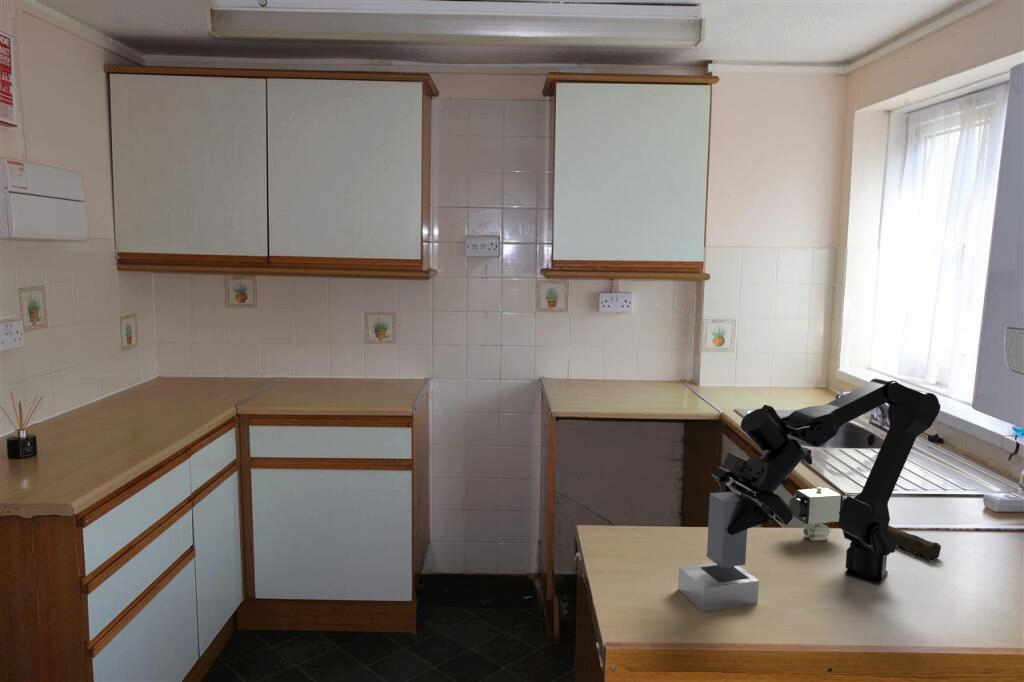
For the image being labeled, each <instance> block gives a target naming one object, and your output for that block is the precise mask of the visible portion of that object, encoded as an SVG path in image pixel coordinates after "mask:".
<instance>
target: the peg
mask: <svg viewBox="0 0 1024 682" xmlns="http://www.w3.org/2000/svg"><path fill="white" fill-rule="evenodd" d="M745 500H746V497H744V496H743V495H742V496H741V495H739V494H737V493H736V492H734V491H729V492H721V491H720V492H710V493H709V502H708V503H709V504H708V506H709V507H708V524H707V525H708V526H707V527H708V528H707V545H706V547H707V548H706V557H707V558H708V559H709V560H710V561H712V563H713V562H714V563H716V564H717V565H718V566H720V567H721V568H726V567H733V566H740V567H741V566H745V565H746V558H747V540H748V537H747V536H748V529H746V530H744V531H741V532H739V533H736V534H734V535H730V534H729V533H728V529H729V528H730V526H731V525H732V523H733V522H734V521H735V519H736V518H737V517H738V515H739V514H740V513H741V511H742V510H743V509H744V507H745Z"/></svg>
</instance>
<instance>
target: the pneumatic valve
mask: <svg viewBox="0 0 1024 682" xmlns="http://www.w3.org/2000/svg"><path fill="white" fill-rule="evenodd" d="M845 499H846V497H845V496H844V494H843V493H840V492H839V491H837V490H835V489H833V488H831V487H828V488H827V487H823V488H822V487H821V486H819V487H816V488H815V487H814V488H807V489H795V490H794V494H793V497H791V498H790V500H789V503H788V504H789V505H788V506H789V507H790V508H791V509H792V510H793V518H795V519H797V520H799V521H801V522H802V523H803V524H804V526H805V527H803V530H802V532H803V535H804V537H805V538H808V539H810V540H811V542H814V543H815V542H824V541H826V542H827V540H828V537H829V535H830V534H831V530H830V528H829V526H828V525H826V524H827V523H835V522H836V523H837V522H838V523H839V518H840V514H839V512H840V510H841V509H842V507H843V505H844V502H845Z"/></svg>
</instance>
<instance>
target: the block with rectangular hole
mask: <svg viewBox="0 0 1024 682" xmlns="http://www.w3.org/2000/svg"><path fill="white" fill-rule="evenodd" d="M677 580H678V585H677V590H678V589H679V590H680V591H679V592H680V593H682V594H683V595H684V597H686V598H687V599H688V600H689V601H690V602H691V603H692V604H694V606H696V607H697V608H698V610H700V611H701V612H702V613H704V612H713V611H718V610H725V609H732V608H738V607H745V606H752V605H758V604H759V603H758V601H759V590H760V589H759V588H760V587H759V586H760V580H759V579H758V578H756V577H755V576H754V575H752V574H751V573H749V572H748V571H747V570H746V569H744V568H743V567H742V566H741V565H740V566H733V567H726V568H721V567H720V566H718V565H717V564H716V563H714V562H713V561H712V562H707V563H698V564H691V565H685V566H684V565H683V566H679V567H678V579H677Z"/></svg>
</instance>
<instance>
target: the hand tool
mask: <svg viewBox="0 0 1024 682" xmlns="http://www.w3.org/2000/svg"><path fill="white" fill-rule="evenodd" d="M887 531H888V532H889V533H890V534H891V535H892V537H893V538H894V539H895V540H896V541H897V542H898V544H897V546H899V547H900V548H903V549H905V550H907V551H911V552H913V553H915V554H917V555H919V556H923V558H924V557H925V558H926V559H927V562H931V560H933V561H936V560H938V559H939V557H940V555H941V549H942V546H941V544H940V543H938V542H934V541H933V542H932V541H929V540H927V539H925V538H923V537H920V536H918V535H915V534H911V533H909V532H906V531H904V530H901V529H899V528H895V527H894V526H891V525H888V529H887ZM937 558H938V559H937ZM935 559H936V560H935Z"/></svg>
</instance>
